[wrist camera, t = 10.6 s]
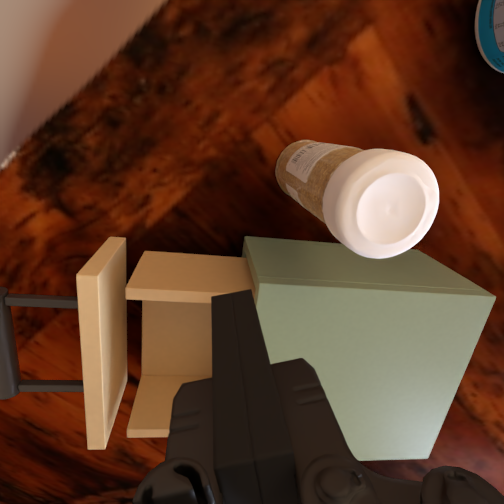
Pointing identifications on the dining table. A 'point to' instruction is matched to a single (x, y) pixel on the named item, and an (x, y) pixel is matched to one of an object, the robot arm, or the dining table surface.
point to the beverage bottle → (490, 32)
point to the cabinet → (370, 336)
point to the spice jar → (362, 194)
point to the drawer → (115, 333)
